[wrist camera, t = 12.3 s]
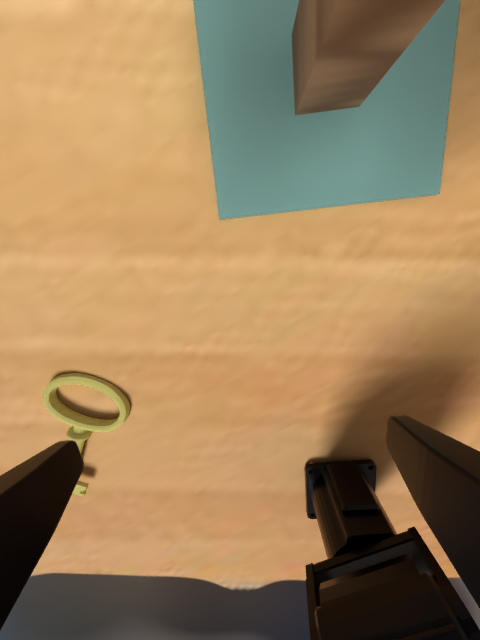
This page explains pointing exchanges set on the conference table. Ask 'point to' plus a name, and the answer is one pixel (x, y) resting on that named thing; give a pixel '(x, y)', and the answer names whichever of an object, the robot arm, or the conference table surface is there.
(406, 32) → the link bar
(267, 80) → the rubber mat
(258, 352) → the conference table surface
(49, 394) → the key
